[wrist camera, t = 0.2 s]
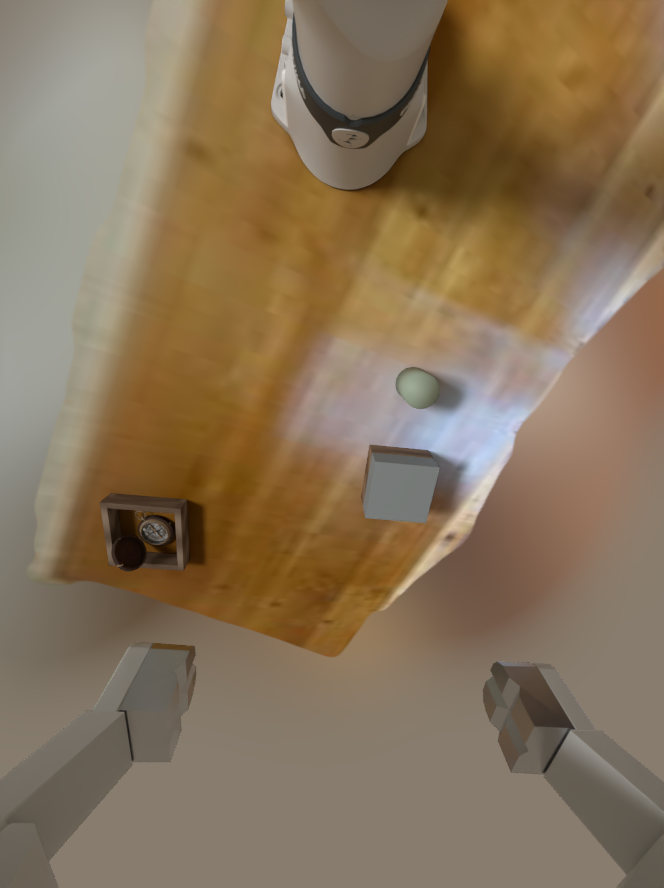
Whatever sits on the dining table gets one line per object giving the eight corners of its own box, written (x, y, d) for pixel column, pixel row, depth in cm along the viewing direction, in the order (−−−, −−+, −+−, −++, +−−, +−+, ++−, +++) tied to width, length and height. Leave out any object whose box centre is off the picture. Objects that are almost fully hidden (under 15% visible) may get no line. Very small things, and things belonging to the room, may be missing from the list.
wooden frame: (110, 493, 60) (99, 502, 57) (186, 499, 61) (180, 508, 58) (118, 554, 64) (109, 565, 62) (189, 559, 65) (183, 570, 63)
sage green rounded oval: (398, 365, 53) (407, 372, 48) (430, 368, 54) (443, 375, 48) (393, 397, 55) (401, 406, 50) (423, 400, 55) (435, 410, 50)
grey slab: (372, 452, 55) (375, 461, 52) (432, 458, 56) (439, 467, 53) (362, 506, 59) (365, 518, 55) (420, 511, 59) (425, 522, 56)
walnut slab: (369, 443, 58) (372, 451, 55) (426, 449, 59) (433, 457, 56) (360, 495, 62) (362, 505, 59) (415, 500, 63) (420, 510, 59)
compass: (182, 533, 63) (165, 560, 57) (148, 551, 65) (128, 579, 58) (153, 500, 61) (132, 524, 54) (118, 520, 62) (93, 546, 55)
